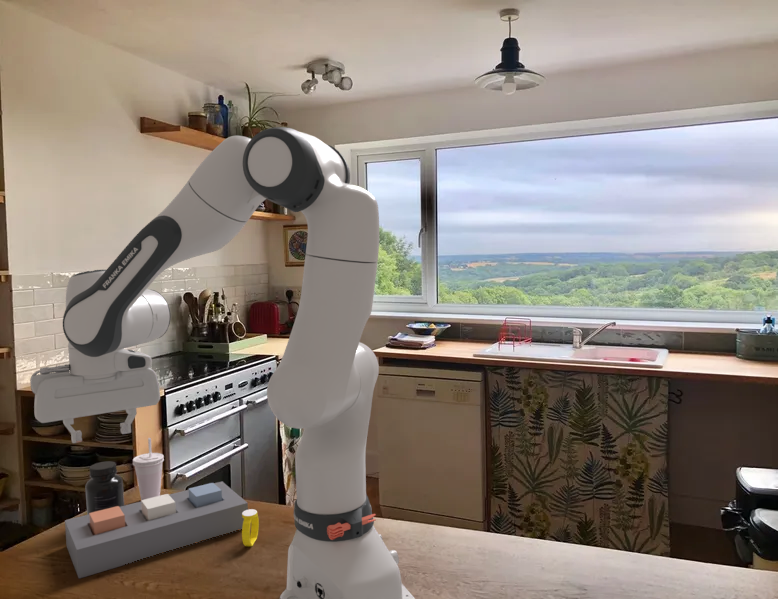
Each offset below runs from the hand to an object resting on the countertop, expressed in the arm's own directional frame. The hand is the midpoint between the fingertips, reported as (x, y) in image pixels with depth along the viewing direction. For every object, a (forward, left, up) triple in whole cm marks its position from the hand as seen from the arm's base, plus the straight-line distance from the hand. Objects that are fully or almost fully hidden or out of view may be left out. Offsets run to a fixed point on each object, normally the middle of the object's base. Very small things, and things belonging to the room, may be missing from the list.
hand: (101, 437), depth 108 cm
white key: (0, -9, -19) cm, 21 cm away
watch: (-13, -22, -22) cm, 33 cm away
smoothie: (+19, -12, -22) cm, 31 cm away
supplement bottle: (+13, -2, -22) cm, 25 cm away
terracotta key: (0, 0, -19) cm, 19 cm away
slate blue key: (0, -18, -19) cm, 26 cm away
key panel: (0, -9, -21) cm, 23 cm away
